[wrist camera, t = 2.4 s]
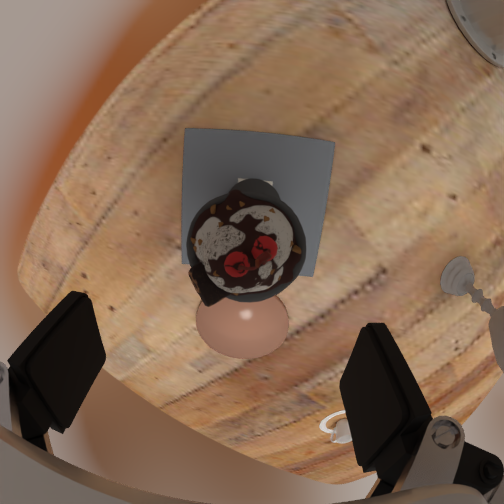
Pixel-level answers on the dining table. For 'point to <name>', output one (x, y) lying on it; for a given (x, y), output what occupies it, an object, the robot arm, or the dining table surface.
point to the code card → (258, 175)
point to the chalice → (475, 300)
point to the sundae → (245, 245)
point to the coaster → (243, 327)
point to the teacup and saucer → (338, 428)
